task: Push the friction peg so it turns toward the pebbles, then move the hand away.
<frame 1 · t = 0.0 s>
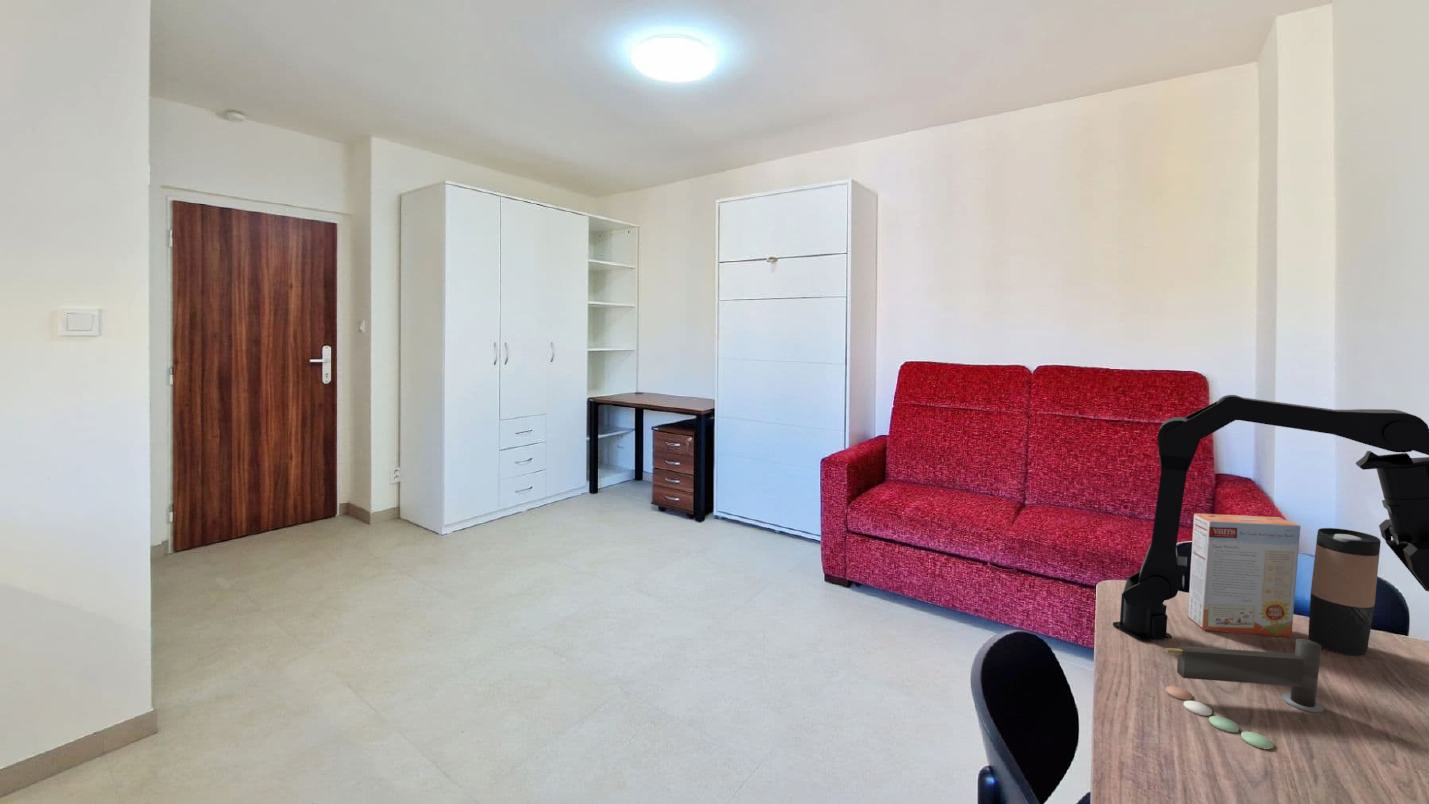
travel mug: (1336, 646, 105), on the table
cracker box: (1236, 628, 111), on the table
friction peg: (1239, 667, 89), point 5 cm above the table, hinge at 0.0°
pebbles: (1302, 703, 88), on the table
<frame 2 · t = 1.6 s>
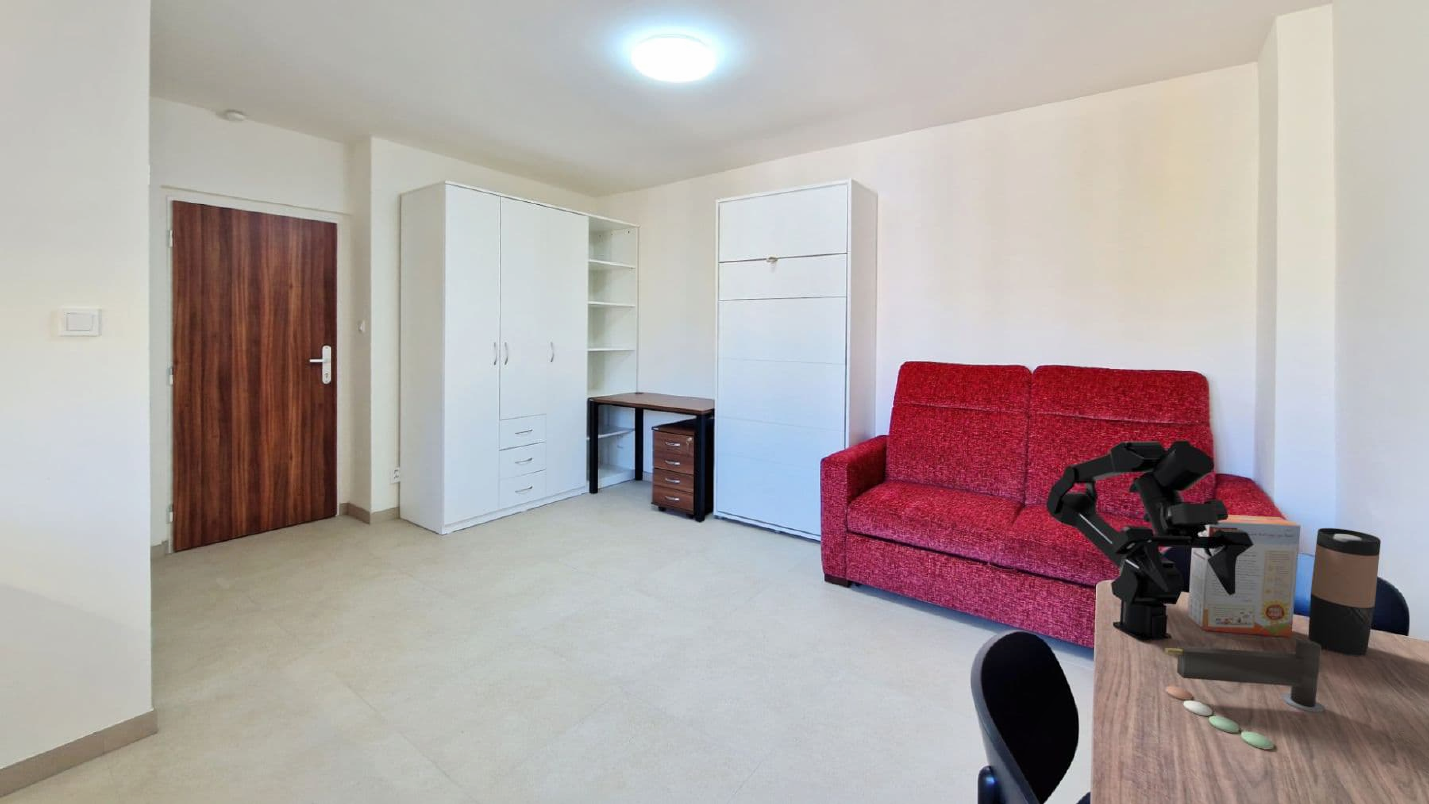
hand: (1200, 592, 94), 14 cm above the table, tool tilted 45°, fingers open, 9 cm apart
nothing on the table moved.
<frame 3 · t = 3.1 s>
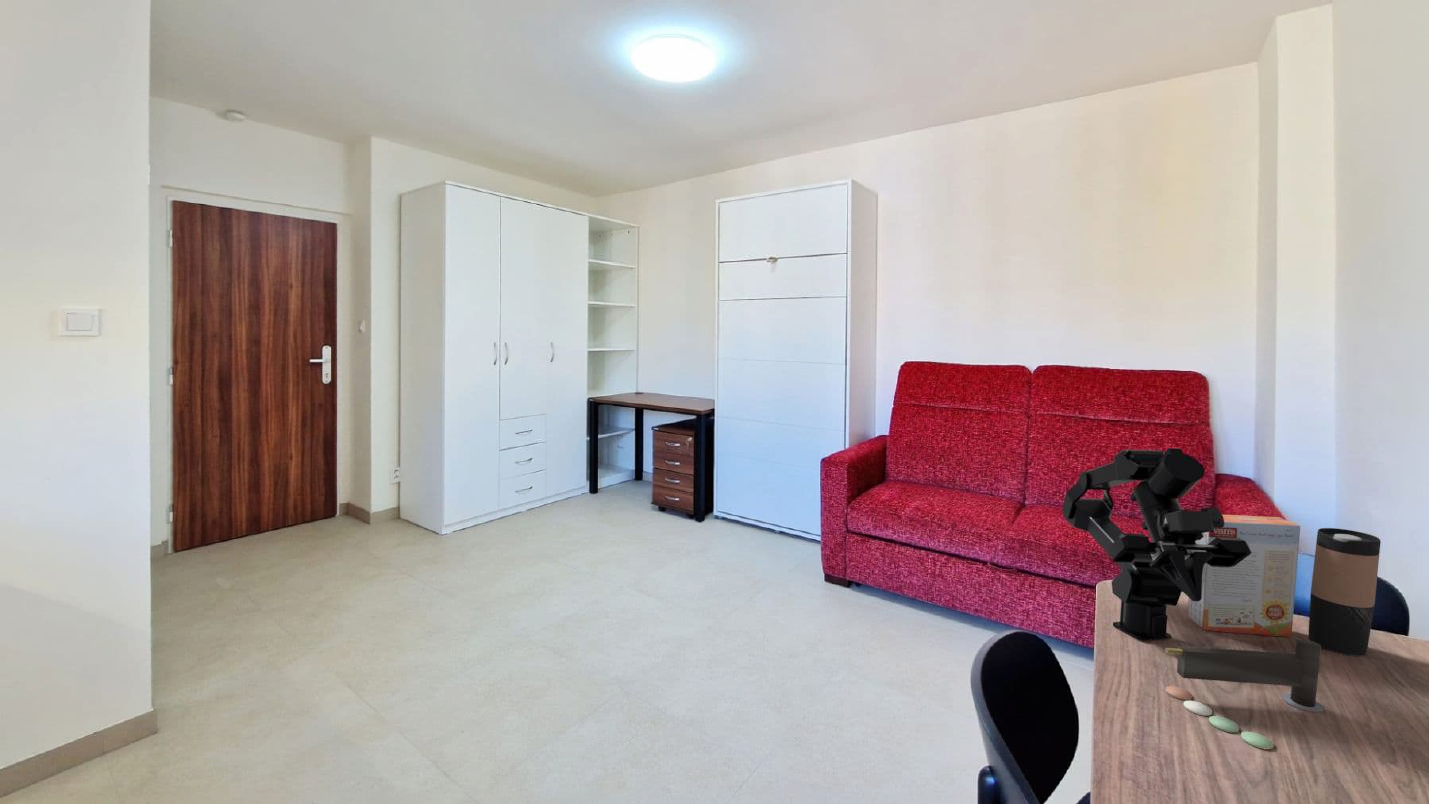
hand: (1197, 600, 94), 12 cm above the table, tool tilted 45°, fingers closed
nothing on the table moved.
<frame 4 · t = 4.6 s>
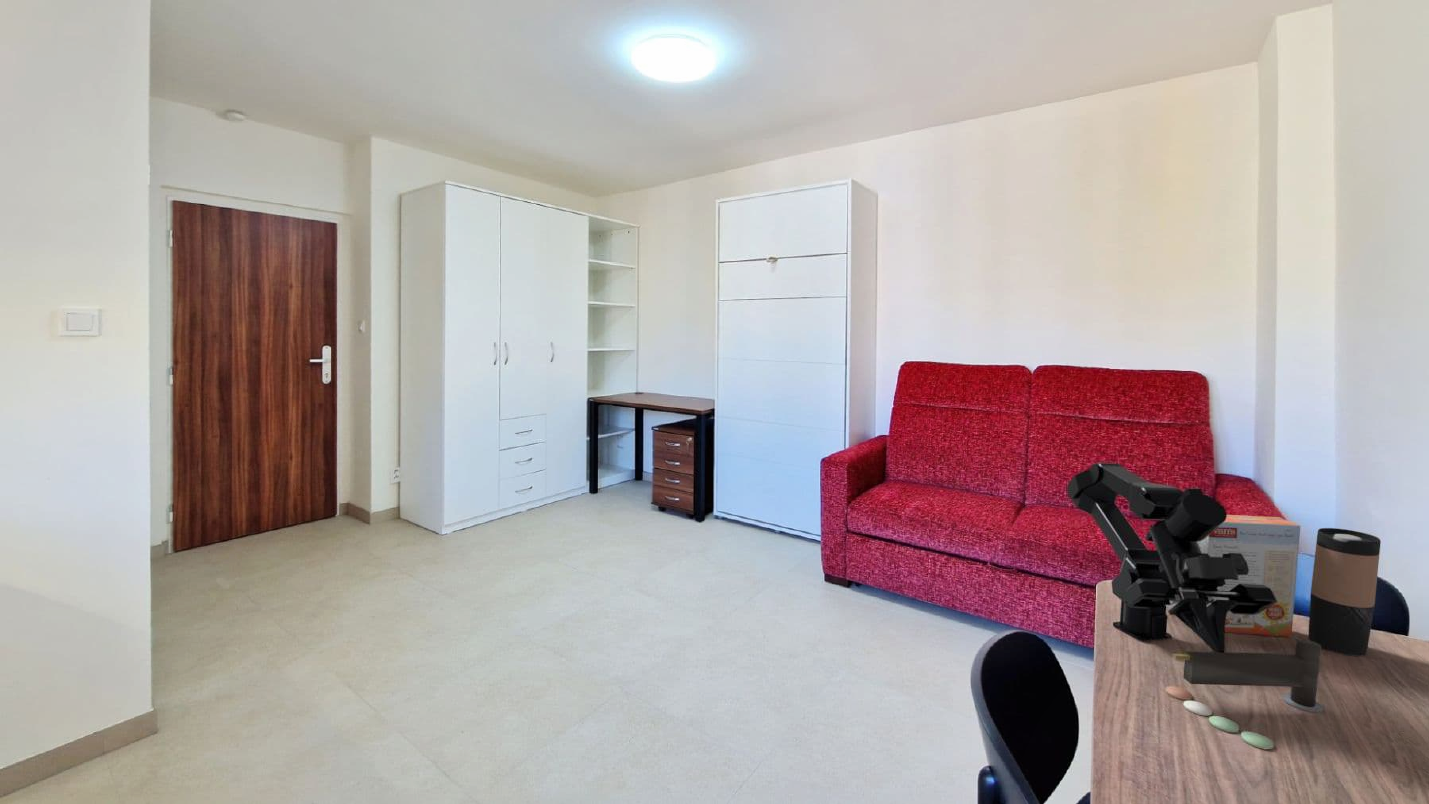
hand: (1220, 652, 89), 7 cm above the table, tool tilted 45°, fingers closed, pressing on friction peg
friction peg: (1243, 670, 88), point 5 cm above the table, hinge at 5.5°, touching gripper
everything else where it was.
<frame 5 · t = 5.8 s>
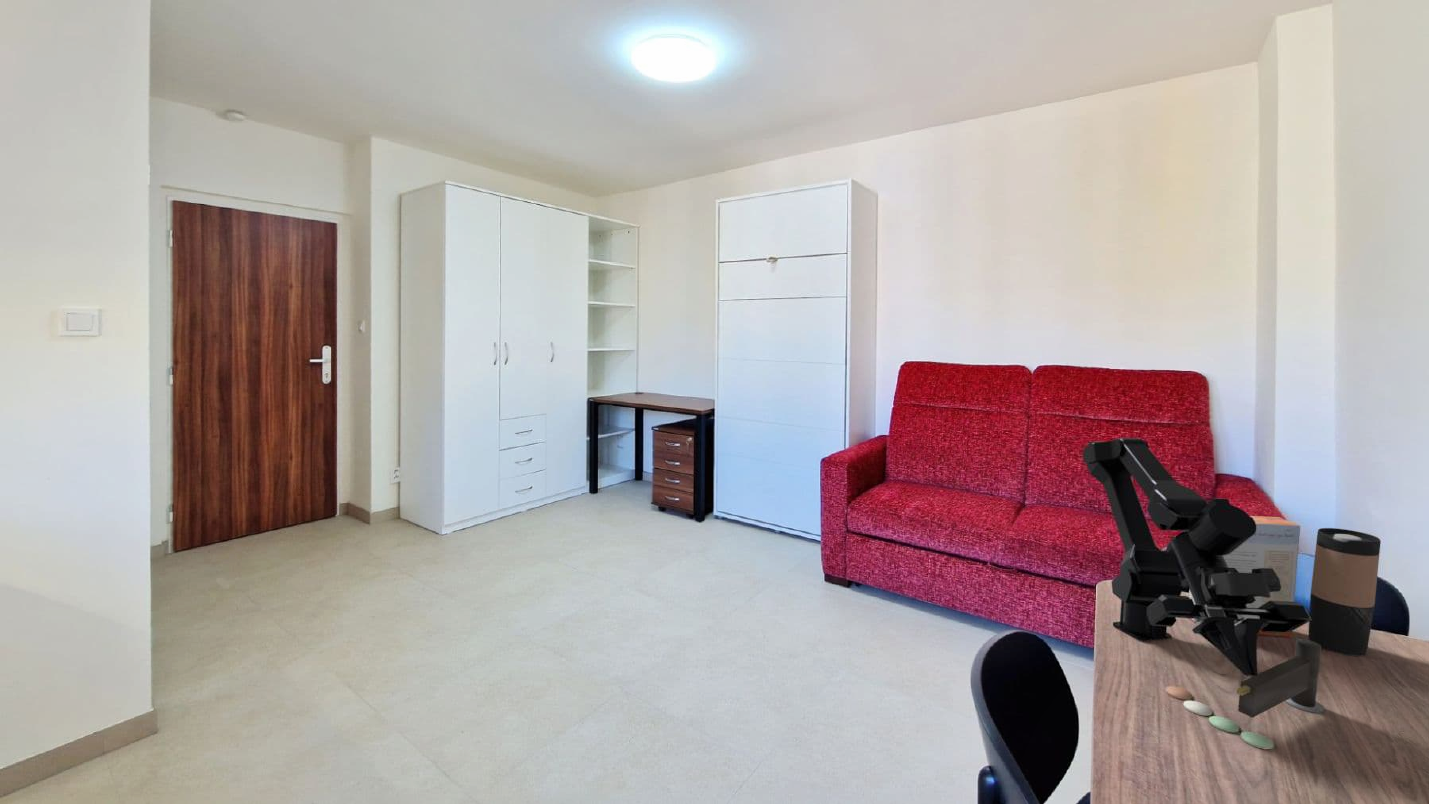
hand: (1251, 675, 83), 7 cm above the table, tool tilted 45°, fingers closed
friction peg: (1275, 687, 84), point 5 cm above the table, hinge at 34.0°, touching gripper
everything else where it was.
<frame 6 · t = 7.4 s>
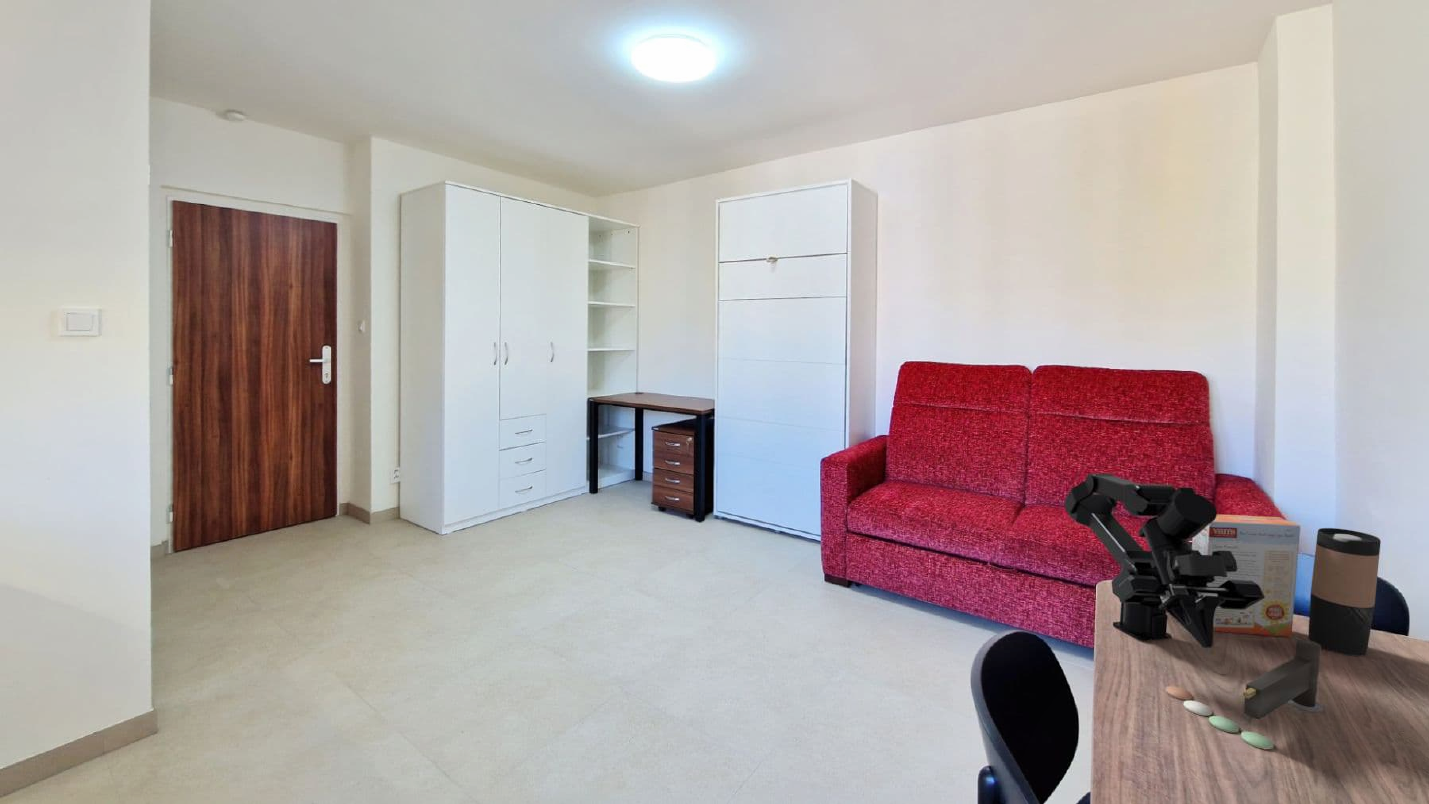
hand: (1208, 647, 91), 7 cm above the table, tool tilted 45°, fingers closed
friction peg: (1278, 688, 83), point 5 cm above the table, hinge at 36.1°
everything else where it was.
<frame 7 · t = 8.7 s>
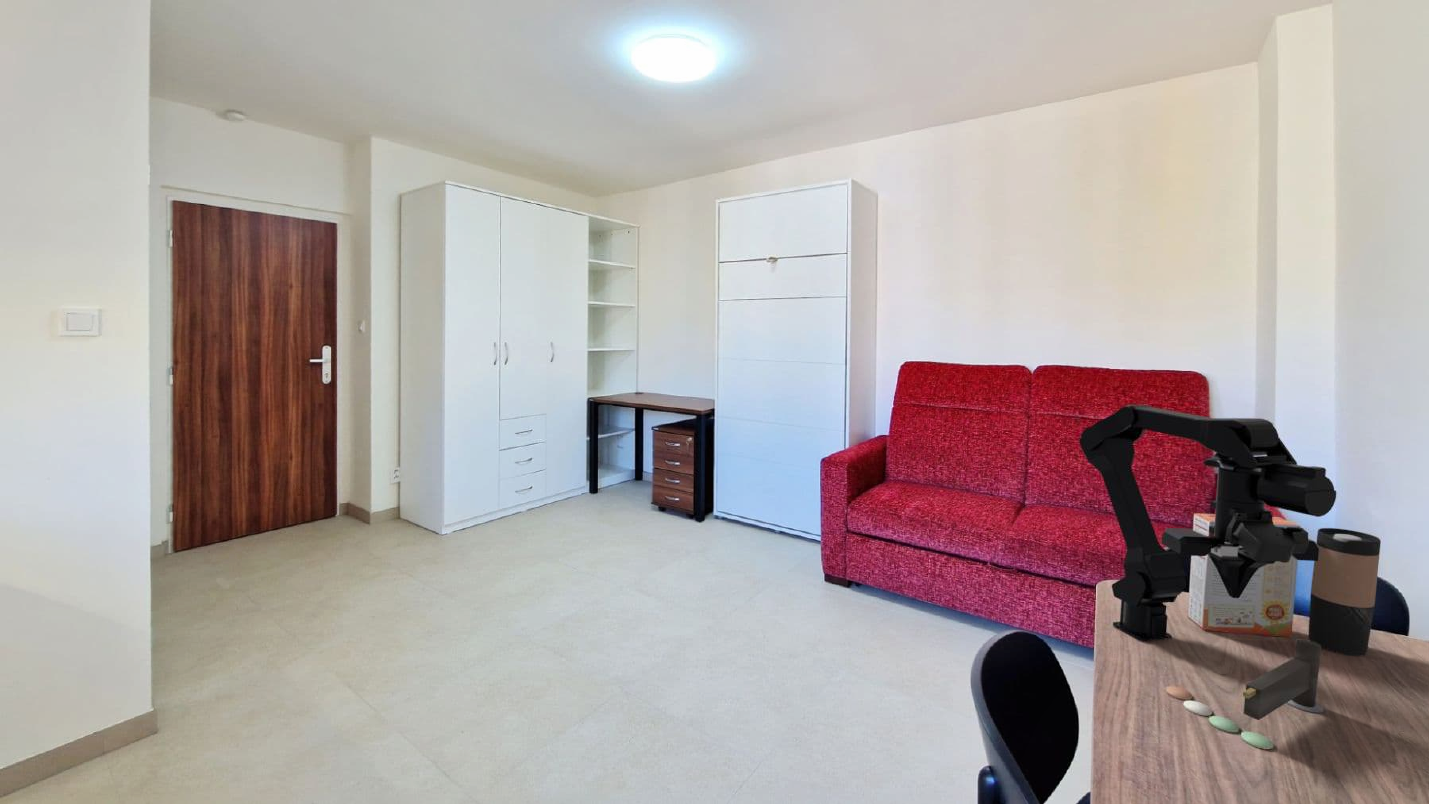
hand: (1233, 597, 94), 13 cm above the table, tool pointing down, fingers closed
nothing on the table moved.
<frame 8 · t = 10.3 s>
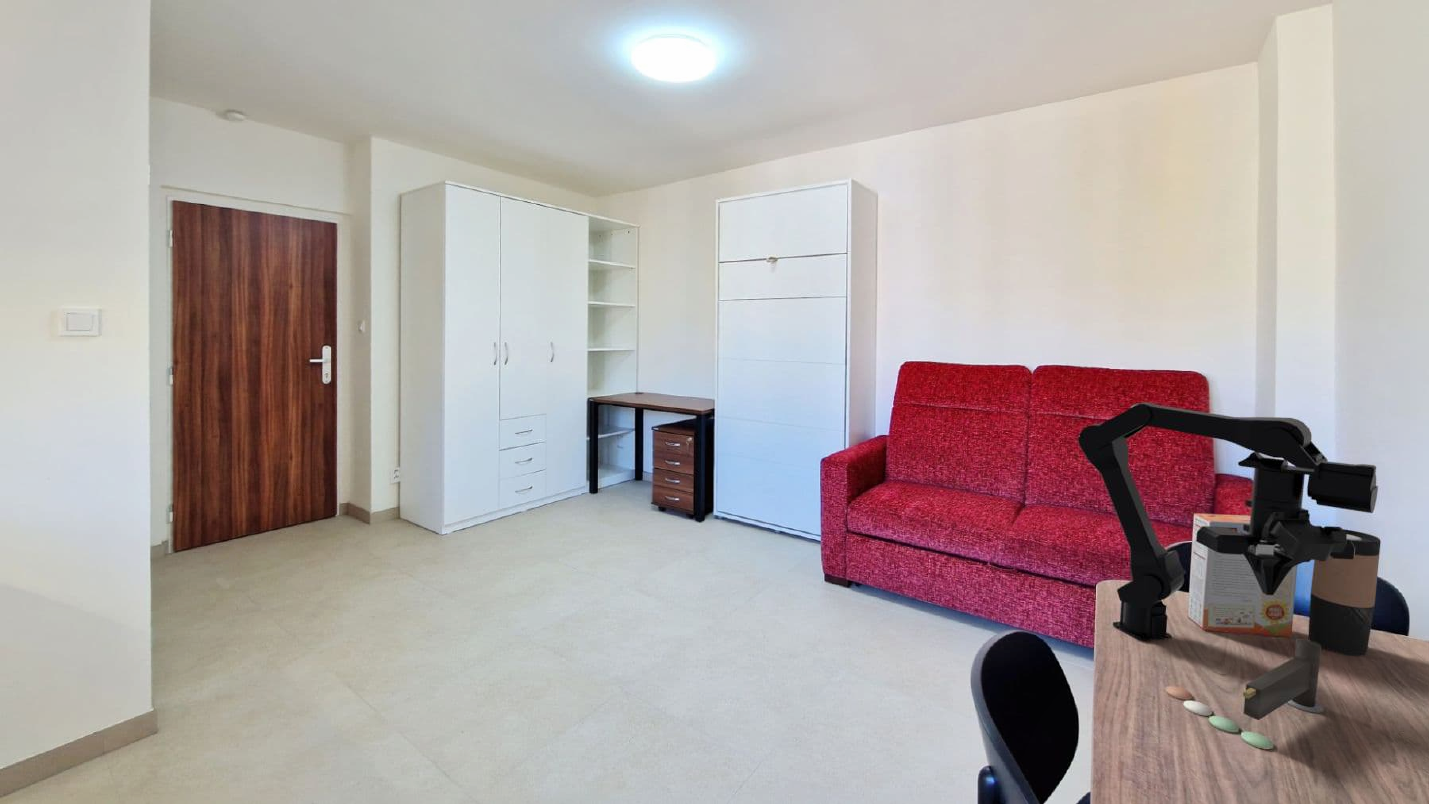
hand: (1267, 594, 95), 13 cm above the table, tool pointing down, fingers closed
nothing on the table moved.
at the end: friction peg at +36° (first picture: +0°) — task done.
